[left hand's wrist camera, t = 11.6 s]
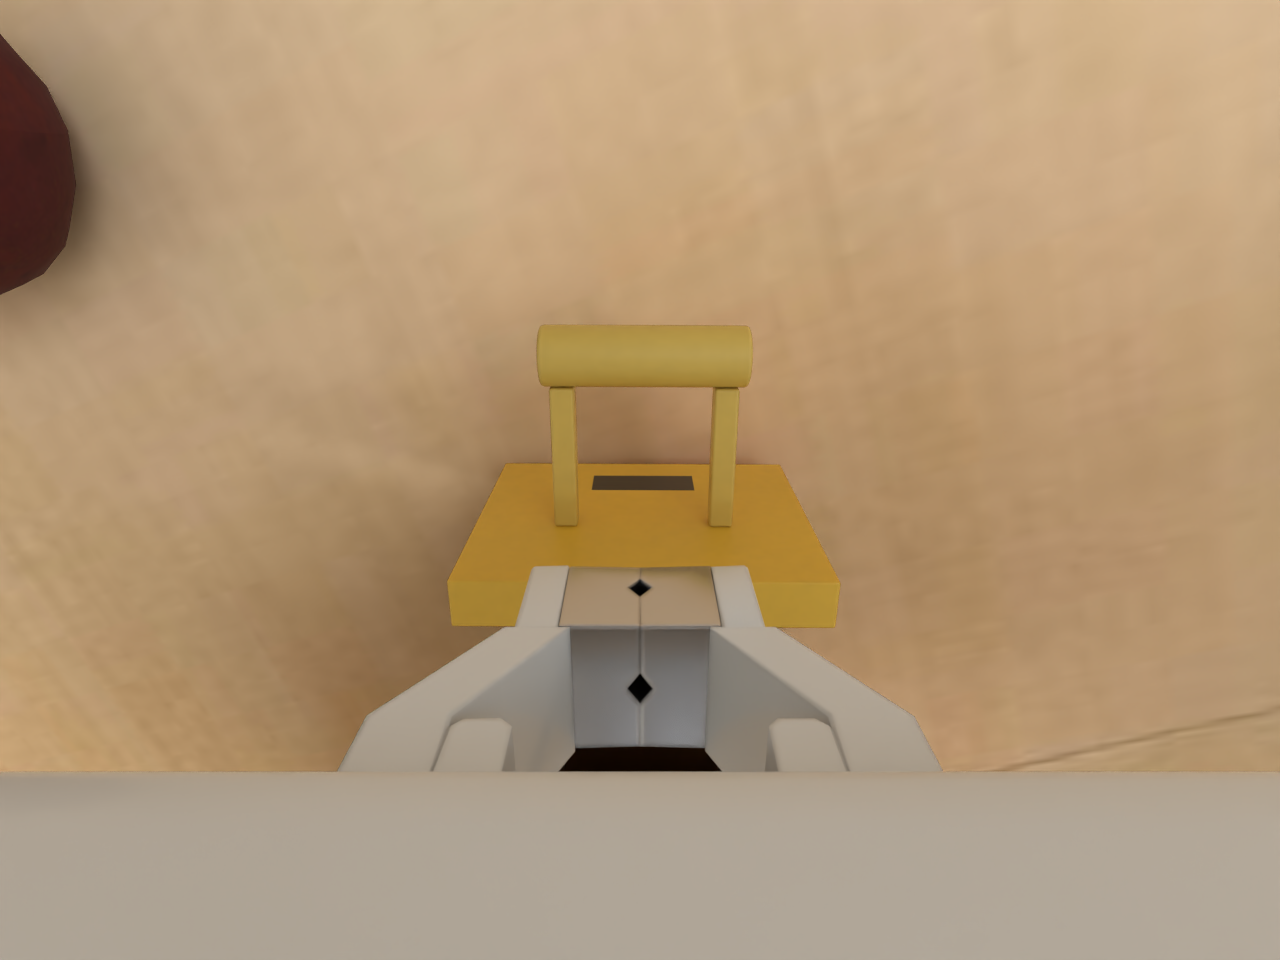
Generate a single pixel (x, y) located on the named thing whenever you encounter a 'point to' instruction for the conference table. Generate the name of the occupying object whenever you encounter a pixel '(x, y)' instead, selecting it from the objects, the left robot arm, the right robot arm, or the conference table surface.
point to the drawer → (644, 503)
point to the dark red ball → (31, 174)
